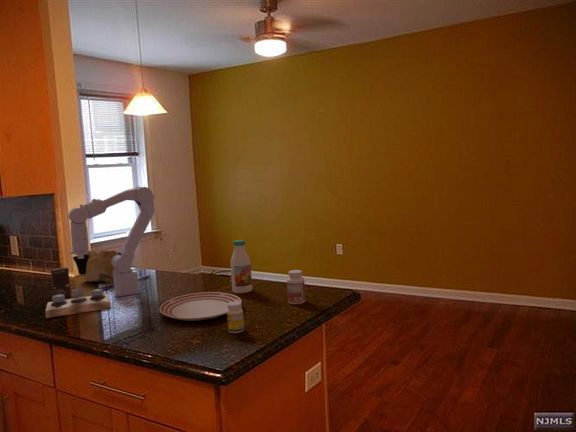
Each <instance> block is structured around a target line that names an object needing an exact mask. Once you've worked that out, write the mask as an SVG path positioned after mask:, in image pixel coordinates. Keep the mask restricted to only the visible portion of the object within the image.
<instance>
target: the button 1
mask: <svg viewBox="0 0 576 432" xmlns="http://www.w3.org/2000/svg"><path fill="white" fill-rule="evenodd" d="M65 300H66V298H65V296H64V295H63V294H60V295H55V296H53V295H52V302H53V303H60V302H64V301H65Z"/></svg>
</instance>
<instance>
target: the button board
mask: <svg viewBox="0 0 576 432" xmlns="http://www.w3.org/2000/svg"><path fill="white" fill-rule="evenodd" d="M111 305H112V304H111V297H110V293H103V296H100V297H92V295H89V296H88V295H87V296H80V297H73V298H66V299H65V301H64V302H60V303H53V301H48V302H47V304H46V306H45V307H46V308H45V310H44V311H45V312H44V313H45V318H46V319H50V318H56V317H62V316H63V317H64V316H68V315H69V316H70V315H74V314H80V313H81V312H82V313H86V312H92V311H93V312H94V311H99V310H106V309H111V308H112V306H111Z"/></svg>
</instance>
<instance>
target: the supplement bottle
mask: <svg viewBox="0 0 576 432" xmlns="http://www.w3.org/2000/svg"><path fill="white" fill-rule="evenodd" d="M226 316H227V319H226V320H227V329H228V332H229V333H231V334H238V333H242V332H244V330H245V321H244V310H243V308H242V301H241V302H238V301H234V302H229V303H228V310H227V314H226Z"/></svg>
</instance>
